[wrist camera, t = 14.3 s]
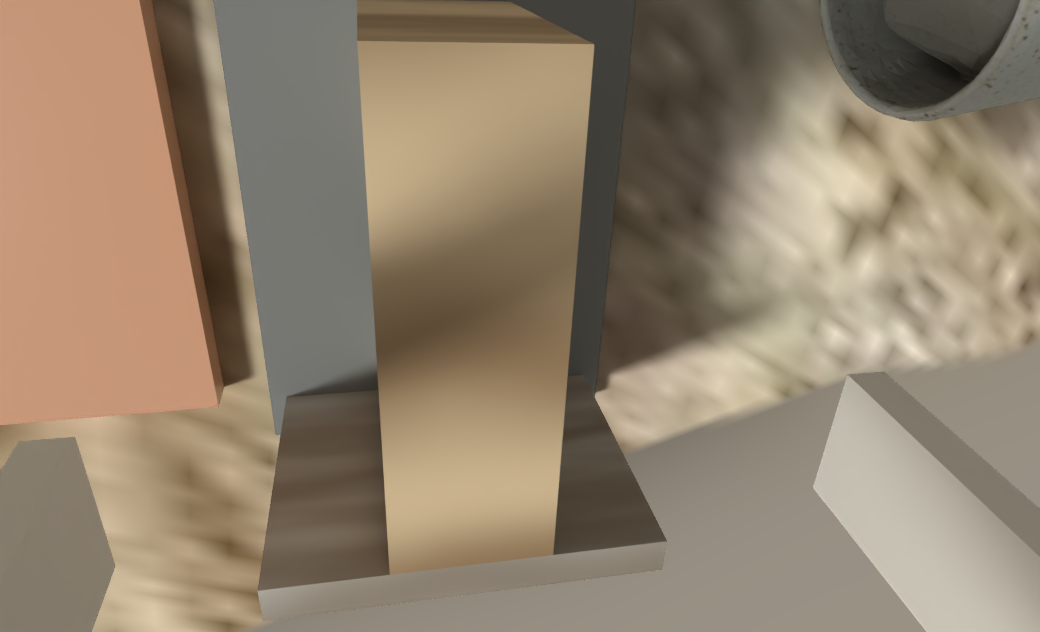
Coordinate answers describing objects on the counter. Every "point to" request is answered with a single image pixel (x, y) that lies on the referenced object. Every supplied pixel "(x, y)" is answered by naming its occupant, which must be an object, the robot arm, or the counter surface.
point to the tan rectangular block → (460, 338)
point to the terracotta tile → (95, 221)
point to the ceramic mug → (935, 53)
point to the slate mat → (342, 183)
